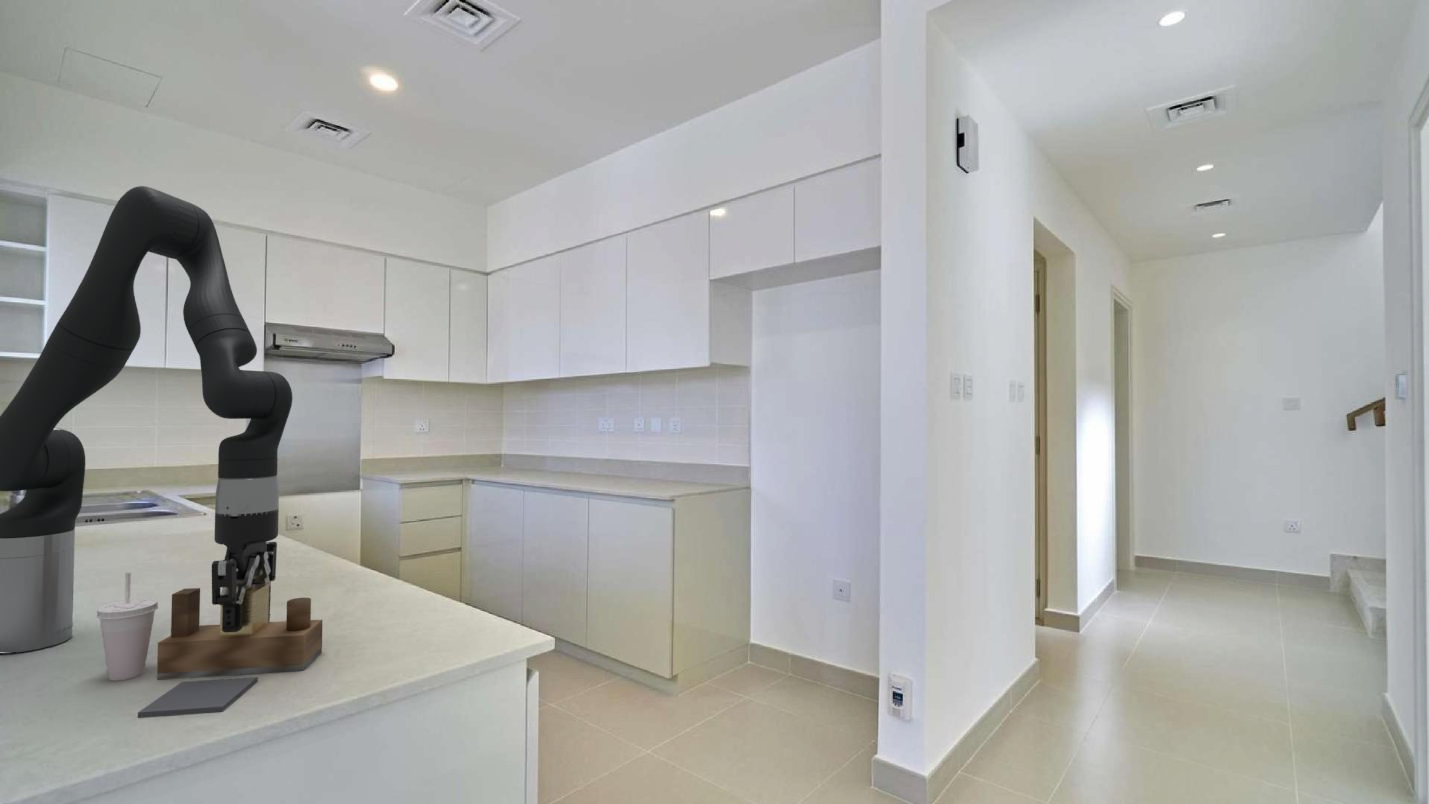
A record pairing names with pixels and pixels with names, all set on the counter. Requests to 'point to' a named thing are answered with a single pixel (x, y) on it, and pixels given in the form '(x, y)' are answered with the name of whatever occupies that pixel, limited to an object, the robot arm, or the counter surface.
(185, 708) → the mat
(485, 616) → the counter surface
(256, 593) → the brushed brass block
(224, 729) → the counter surface
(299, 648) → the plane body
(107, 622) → the smoothie
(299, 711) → the counter surface
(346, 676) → the counter surface
